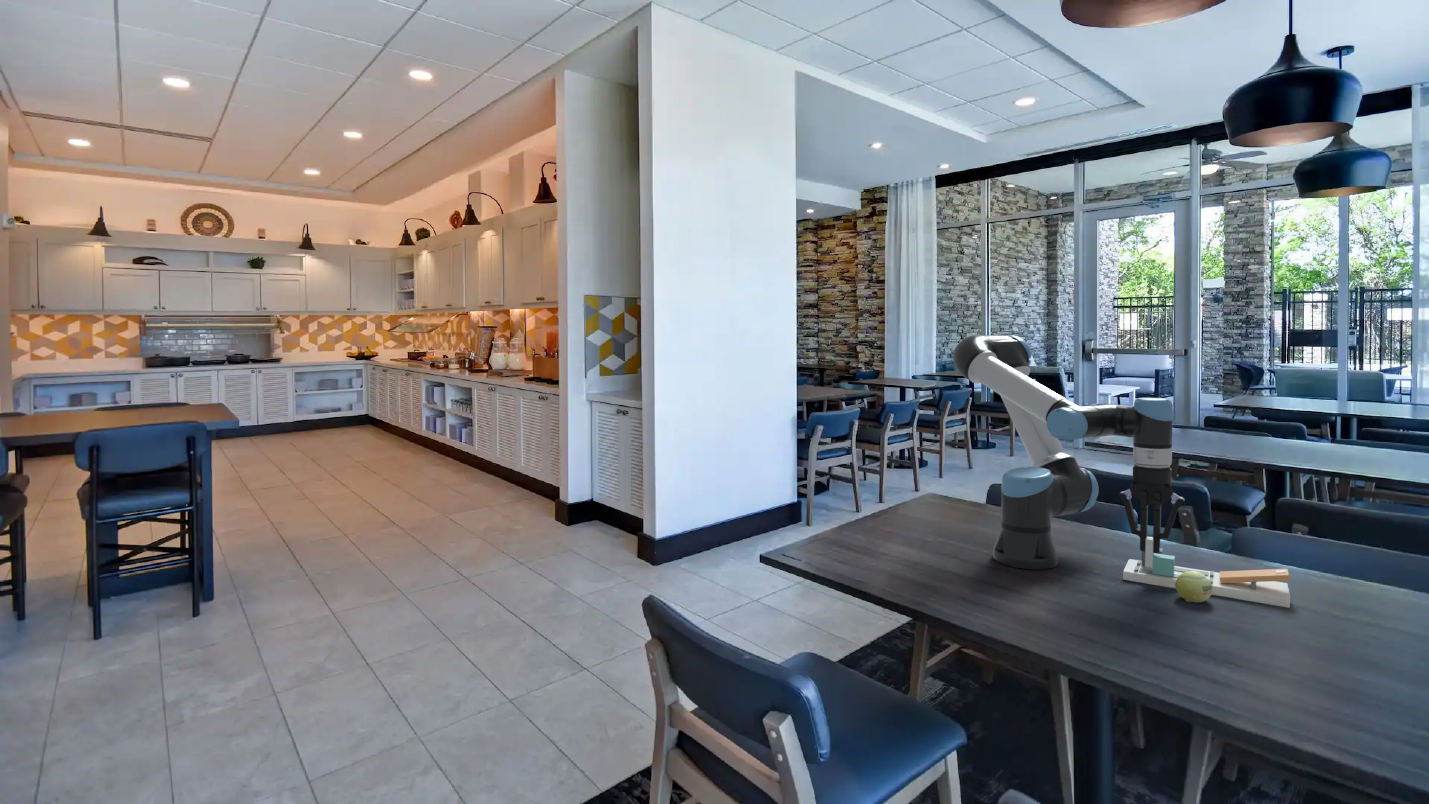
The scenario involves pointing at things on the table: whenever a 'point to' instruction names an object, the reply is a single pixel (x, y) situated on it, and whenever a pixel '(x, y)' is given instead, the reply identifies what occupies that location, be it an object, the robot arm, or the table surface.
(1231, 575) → the tan block
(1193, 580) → the tennis ball
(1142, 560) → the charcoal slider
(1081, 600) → the table surface
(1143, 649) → the table surface
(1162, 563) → the teal slider
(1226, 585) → the panel
